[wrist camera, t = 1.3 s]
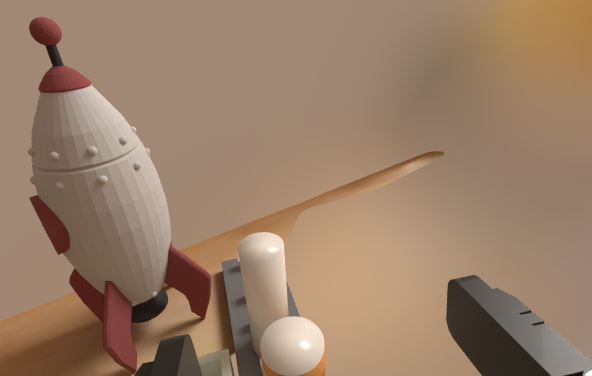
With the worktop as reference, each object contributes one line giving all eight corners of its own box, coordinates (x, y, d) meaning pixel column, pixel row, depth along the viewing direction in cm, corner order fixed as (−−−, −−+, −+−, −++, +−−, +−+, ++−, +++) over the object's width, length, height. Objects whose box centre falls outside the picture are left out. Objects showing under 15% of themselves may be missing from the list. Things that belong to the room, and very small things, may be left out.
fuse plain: (256, 367, 30) (240, 266, 24) (249, 333, 33) (234, 237, 28) (295, 355, 31) (289, 255, 25) (285, 323, 34) (277, 228, 28)
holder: (268, 559, 21) (263, 543, 19) (223, 270, 44) (219, 252, 42) (370, 515, 22) (373, 496, 21) (275, 258, 45) (274, 241, 44)
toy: (87, 321, 37) (-65, 21, 23) (176, 271, 44) (102, 13, 29) (125, 391, 30) (-58, 23, 16) (224, 319, 37) (160, 11, 22)
